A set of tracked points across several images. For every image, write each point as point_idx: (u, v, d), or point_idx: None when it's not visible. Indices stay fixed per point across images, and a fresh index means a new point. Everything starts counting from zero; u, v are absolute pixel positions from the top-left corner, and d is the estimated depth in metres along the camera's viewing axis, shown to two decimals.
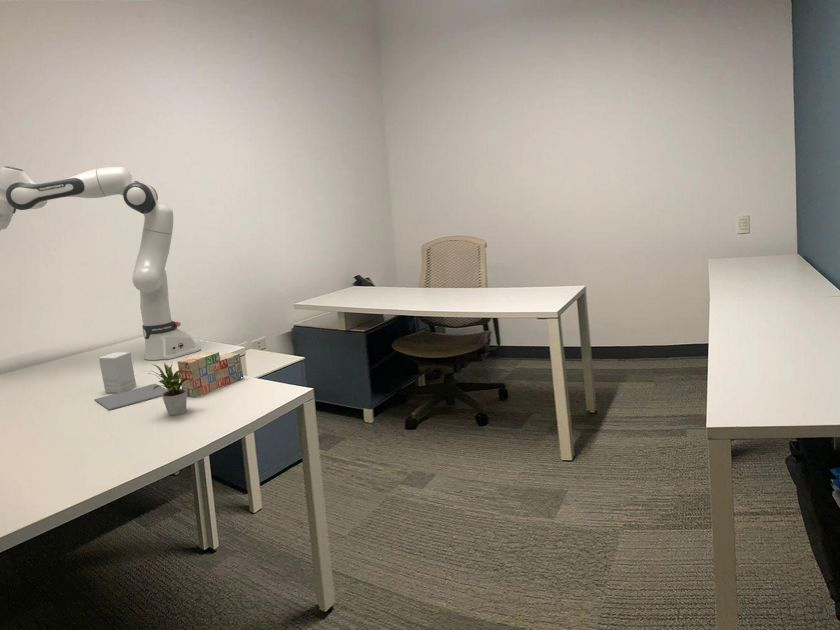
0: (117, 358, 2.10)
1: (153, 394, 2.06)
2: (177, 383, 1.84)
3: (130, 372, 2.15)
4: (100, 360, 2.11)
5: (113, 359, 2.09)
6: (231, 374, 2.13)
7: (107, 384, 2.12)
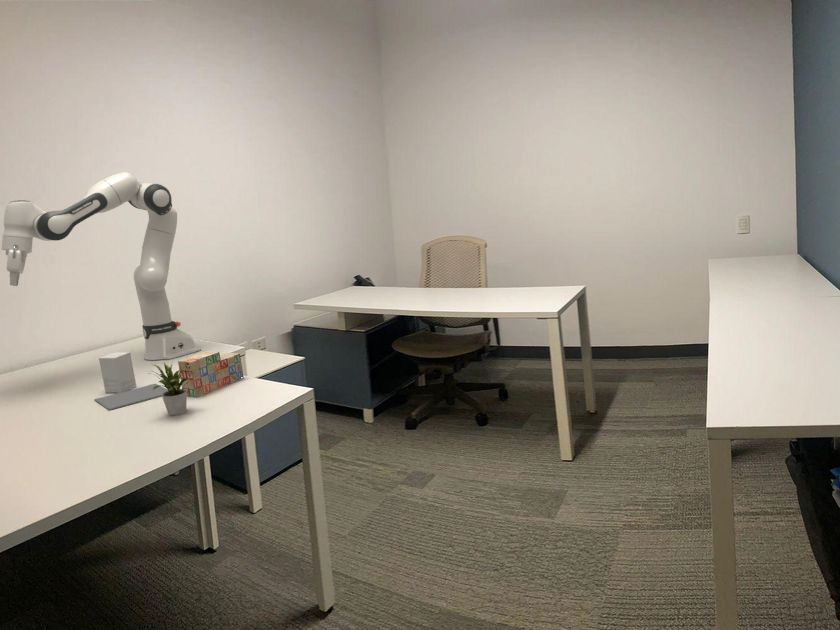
0: (117, 358, 2.10)
1: (153, 394, 2.06)
2: (177, 383, 1.84)
3: (130, 372, 2.15)
4: (100, 360, 2.11)
5: (113, 359, 2.09)
6: (231, 374, 2.13)
7: (107, 384, 2.12)
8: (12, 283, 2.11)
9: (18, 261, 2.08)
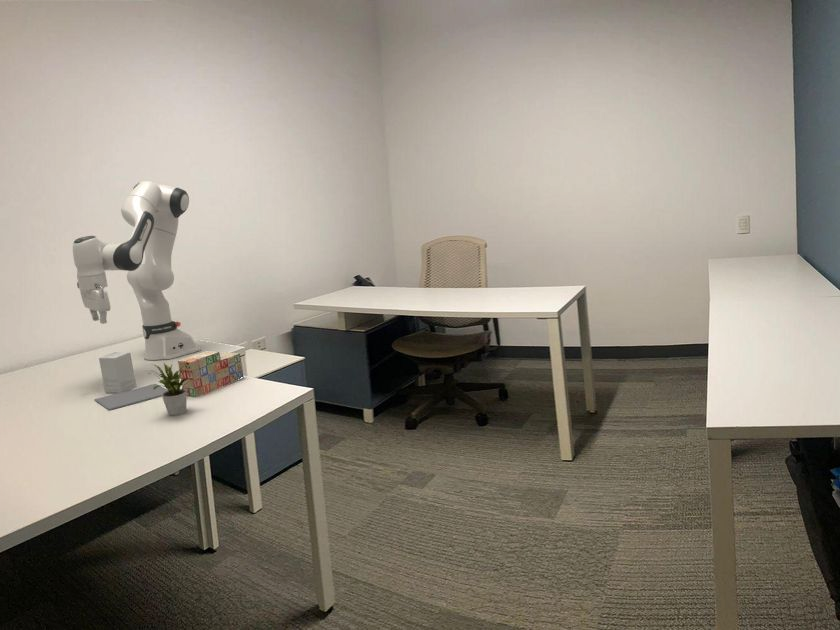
0: (117, 358, 2.10)
1: (153, 394, 2.06)
2: (177, 383, 1.84)
3: (130, 372, 2.15)
4: (100, 360, 2.11)
5: (113, 359, 2.09)
6: (231, 374, 2.13)
7: (107, 384, 2.12)
8: (103, 321, 2.14)
9: (108, 300, 2.10)
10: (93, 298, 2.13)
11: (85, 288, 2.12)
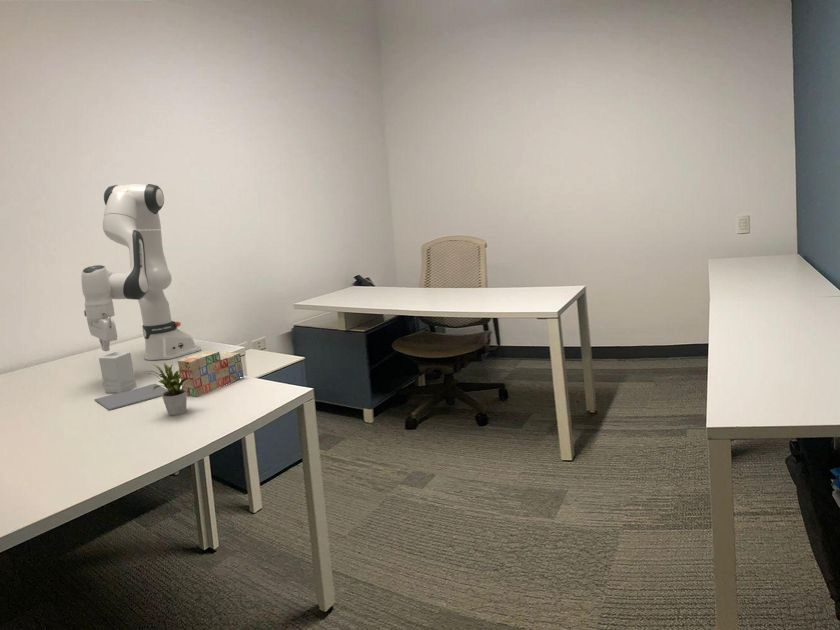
0: (117, 358, 2.10)
1: (153, 394, 2.06)
2: (177, 383, 1.84)
3: (130, 372, 2.15)
4: (100, 360, 2.11)
5: (113, 359, 2.09)
6: (231, 373, 2.13)
7: (107, 384, 2.12)
8: (106, 349, 2.18)
9: (115, 330, 2.12)
10: (100, 327, 2.14)
11: (92, 317, 2.13)
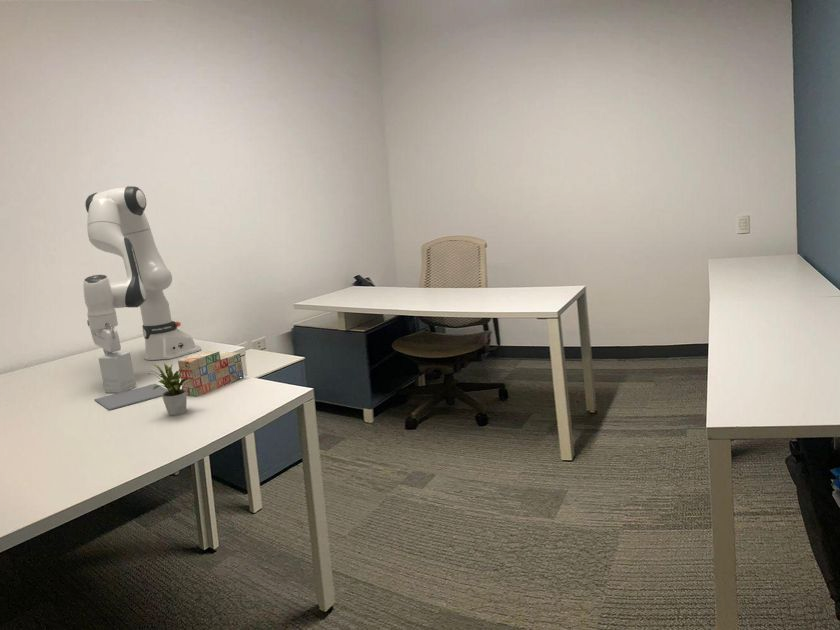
0: (117, 358, 2.10)
1: (153, 394, 2.06)
2: (177, 383, 1.84)
3: (130, 372, 2.15)
4: (100, 360, 2.11)
5: (113, 359, 2.09)
6: (231, 373, 2.14)
7: (107, 384, 2.12)
8: None
9: (118, 340, 2.10)
10: (103, 337, 2.12)
11: (95, 328, 2.11)
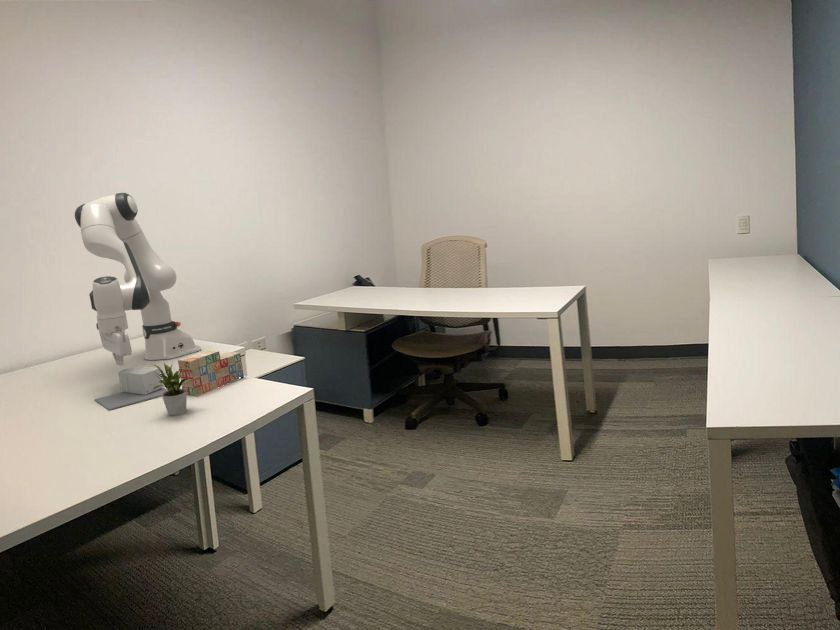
0: None
1: (153, 394, 2.06)
2: (177, 383, 1.84)
3: None
4: (139, 376, 2.04)
5: (143, 392, 2.05)
6: (231, 373, 2.14)
7: (124, 377, 2.09)
8: (120, 363, 2.09)
9: (129, 344, 2.02)
10: (113, 341, 2.05)
11: (105, 331, 2.03)
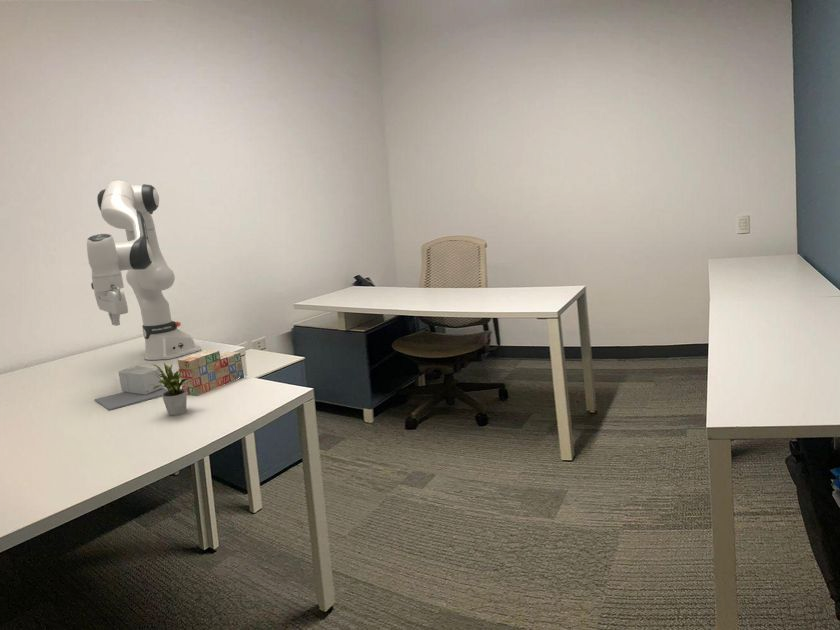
0: (146, 393, 2.06)
1: (153, 394, 2.06)
2: (177, 383, 1.84)
3: None
4: (139, 375, 2.04)
5: (143, 392, 2.05)
6: (231, 373, 2.14)
7: (124, 377, 2.09)
8: (116, 323, 2.05)
9: (125, 302, 1.98)
10: (109, 300, 2.00)
11: (101, 289, 1.99)
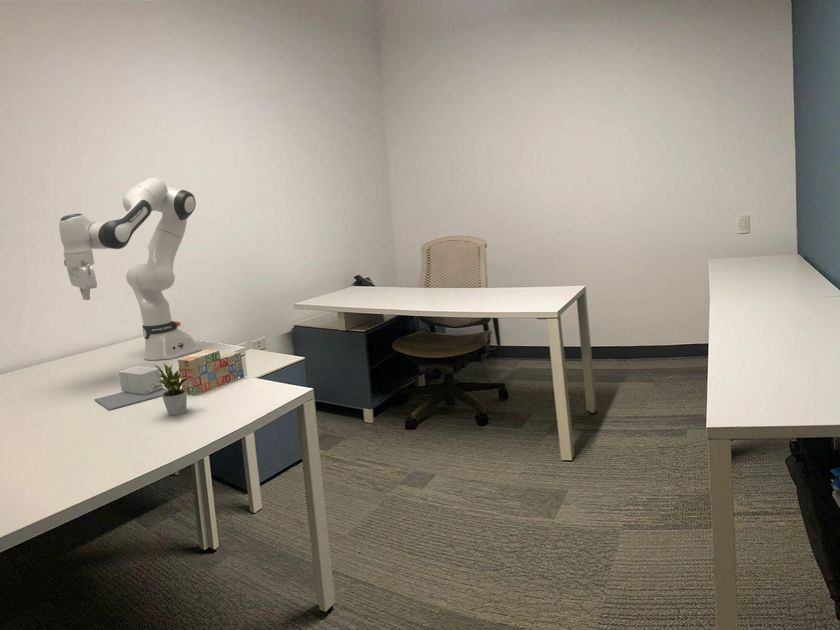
0: (146, 393, 2.06)
1: (153, 394, 2.06)
2: (177, 383, 1.84)
3: None
4: (139, 375, 2.04)
5: (143, 392, 2.05)
6: (231, 372, 2.15)
7: (124, 377, 2.09)
8: (87, 298, 2.18)
9: (94, 277, 2.11)
10: (80, 275, 2.14)
11: (72, 265, 2.12)
